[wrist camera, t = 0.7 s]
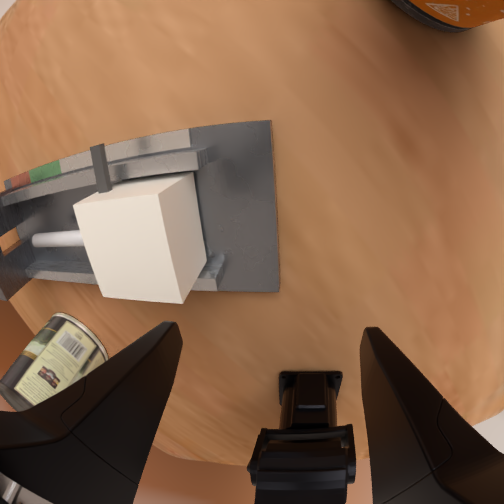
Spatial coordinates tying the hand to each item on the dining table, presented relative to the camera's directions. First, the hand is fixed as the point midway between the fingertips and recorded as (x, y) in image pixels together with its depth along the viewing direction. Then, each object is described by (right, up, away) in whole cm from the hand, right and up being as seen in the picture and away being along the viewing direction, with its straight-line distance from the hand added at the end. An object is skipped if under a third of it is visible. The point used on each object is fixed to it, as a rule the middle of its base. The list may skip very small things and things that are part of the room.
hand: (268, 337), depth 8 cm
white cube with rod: (-11, +6, +11) cm, 17 cm away
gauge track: (-13, +5, +13) cm, 19 cm away
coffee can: (-24, -10, +23) cm, 35 cm away
